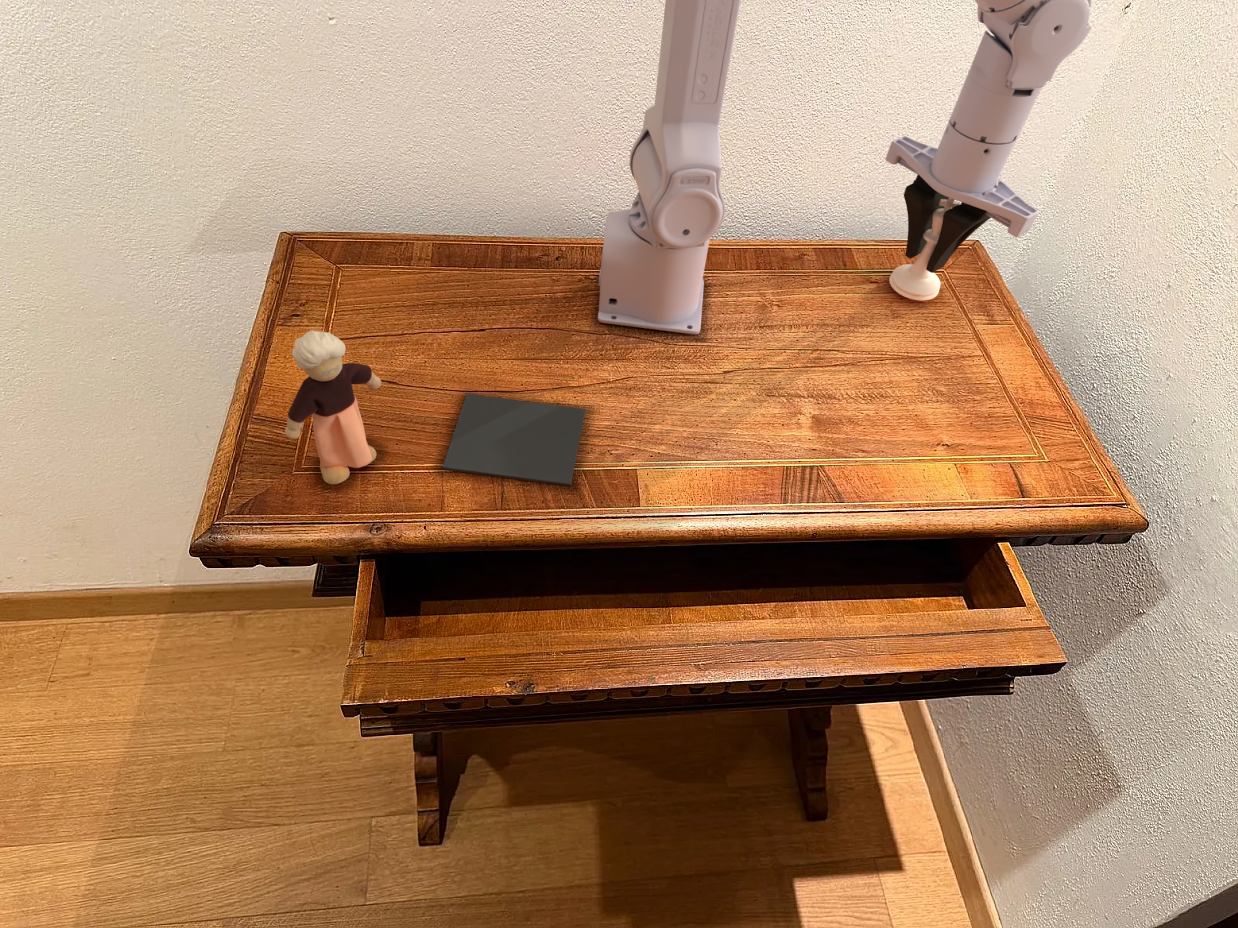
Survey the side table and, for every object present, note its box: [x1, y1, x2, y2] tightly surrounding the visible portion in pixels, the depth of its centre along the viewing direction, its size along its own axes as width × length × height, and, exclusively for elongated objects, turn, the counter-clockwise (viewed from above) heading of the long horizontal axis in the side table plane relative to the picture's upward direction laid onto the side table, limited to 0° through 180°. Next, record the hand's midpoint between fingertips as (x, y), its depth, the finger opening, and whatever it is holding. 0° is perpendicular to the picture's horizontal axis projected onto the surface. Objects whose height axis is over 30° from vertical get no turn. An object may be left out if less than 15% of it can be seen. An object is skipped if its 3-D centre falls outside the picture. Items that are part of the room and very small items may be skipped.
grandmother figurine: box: [284, 330, 382, 485], centre depth 57 cm, size 8×4×13 cm, turn 148°
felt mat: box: [442, 393, 586, 487], centre depth 64 cm, size 10×8×1 cm
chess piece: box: [888, 198, 961, 301], centre depth 76 cm, size 5×5×10 cm
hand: (924, 261), depth 77 cm, fingers closed on chess piece
